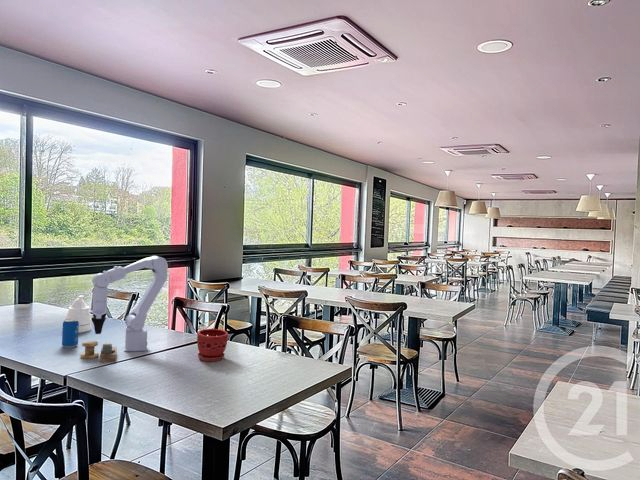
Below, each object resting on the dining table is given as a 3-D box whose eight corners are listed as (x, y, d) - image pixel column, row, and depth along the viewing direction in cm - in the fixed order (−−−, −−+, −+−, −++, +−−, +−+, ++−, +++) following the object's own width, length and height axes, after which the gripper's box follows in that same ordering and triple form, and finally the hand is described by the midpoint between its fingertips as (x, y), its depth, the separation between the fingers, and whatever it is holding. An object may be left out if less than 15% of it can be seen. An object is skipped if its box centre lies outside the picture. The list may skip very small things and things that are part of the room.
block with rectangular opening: (116, 353, 208) (116, 346, 208) (115, 361, 197) (115, 354, 197) (101, 354, 206) (101, 347, 206) (99, 362, 195) (100, 355, 195)
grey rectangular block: (111, 357, 202) (112, 342, 202) (111, 360, 199) (112, 344, 199) (102, 358, 201) (103, 342, 200) (102, 360, 197) (102, 345, 197)
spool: (99, 354, 206) (99, 340, 206) (97, 358, 200) (98, 344, 200) (81, 354, 204) (81, 340, 204) (79, 359, 197) (80, 345, 197)
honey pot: (96, 329, 249) (98, 295, 248) (72, 333, 238) (74, 298, 237) (82, 325, 255) (83, 292, 255) (58, 329, 245) (60, 294, 244)
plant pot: (190, 360, 205) (191, 332, 205) (207, 353, 217) (209, 327, 217) (215, 365, 200) (216, 336, 200) (232, 357, 213) (233, 331, 212)
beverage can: (71, 348, 212) (72, 322, 212) (58, 347, 213) (59, 320, 213) (81, 345, 218) (82, 319, 218) (68, 343, 220) (69, 318, 219)
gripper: (90, 298, 212) (89, 328, 212) (88, 303, 199) (87, 336, 199) (108, 298, 215) (106, 327, 215) (107, 303, 201) (105, 335, 202)
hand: (98, 331), depth 207 cm, fingers open, 7 cm apart
